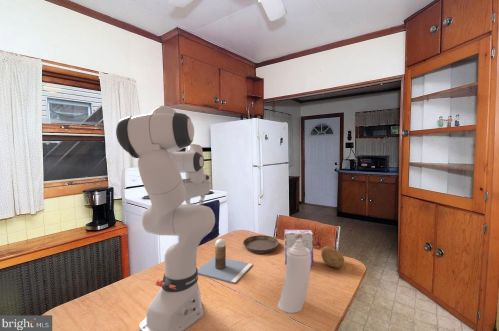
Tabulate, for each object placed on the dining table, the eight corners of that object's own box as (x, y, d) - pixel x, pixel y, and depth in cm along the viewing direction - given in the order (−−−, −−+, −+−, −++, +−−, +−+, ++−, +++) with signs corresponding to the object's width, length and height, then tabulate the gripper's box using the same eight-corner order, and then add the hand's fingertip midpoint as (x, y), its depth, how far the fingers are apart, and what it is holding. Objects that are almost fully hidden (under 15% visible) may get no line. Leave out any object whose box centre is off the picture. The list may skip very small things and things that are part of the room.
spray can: (289, 291, 101) (290, 232, 98) (314, 302, 94) (315, 238, 92) (274, 306, 92) (273, 241, 89) (299, 319, 85) (300, 249, 83)
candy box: (311, 260, 127) (311, 229, 126) (313, 266, 121) (313, 233, 120) (284, 259, 129) (284, 228, 127) (284, 265, 123) (284, 232, 121)
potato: (331, 274, 114) (331, 257, 113) (316, 260, 128) (316, 245, 127) (350, 271, 116) (350, 255, 115) (333, 258, 129) (334, 243, 129)
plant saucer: (260, 258, 130) (260, 252, 130) (235, 247, 145) (235, 241, 145) (285, 247, 144) (285, 241, 144) (260, 237, 159) (260, 232, 159)
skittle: (222, 270, 117) (221, 241, 116) (213, 268, 119) (213, 240, 118) (227, 265, 121) (227, 238, 120) (219, 263, 124) (218, 236, 122)
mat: (235, 283, 107) (235, 282, 107) (194, 273, 116) (194, 271, 116) (252, 265, 123) (252, 263, 123) (215, 256, 132) (215, 255, 132)
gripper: (185, 180, 111) (186, 210, 112) (211, 175, 129) (212, 202, 130) (175, 179, 114) (176, 209, 114) (201, 175, 132) (202, 201, 133)
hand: (195, 205), depth 122 cm, fingers open, 8 cm apart
